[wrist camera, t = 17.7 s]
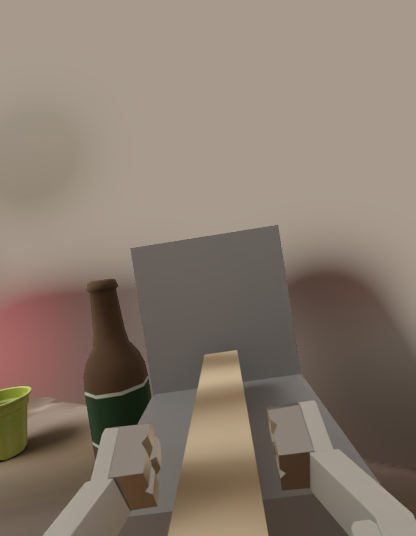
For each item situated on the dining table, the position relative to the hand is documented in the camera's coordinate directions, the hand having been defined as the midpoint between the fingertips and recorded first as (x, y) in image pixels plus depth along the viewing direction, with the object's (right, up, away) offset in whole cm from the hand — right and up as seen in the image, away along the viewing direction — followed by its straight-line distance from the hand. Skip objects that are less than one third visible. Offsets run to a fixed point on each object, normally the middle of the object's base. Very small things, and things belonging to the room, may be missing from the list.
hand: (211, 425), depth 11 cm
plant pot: (-31, -24, +42) cm, 58 cm away
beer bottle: (-10, -20, +32) cm, 39 cm away
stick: (+1, -4, +6) cm, 7 cm away
